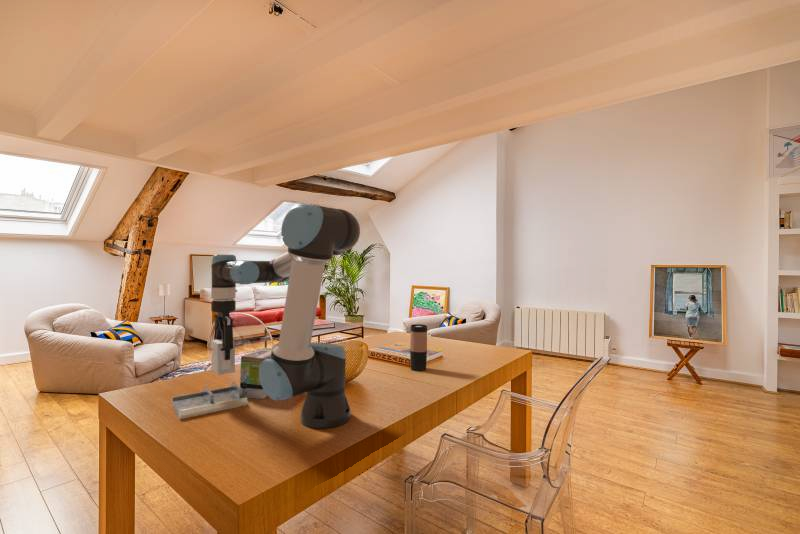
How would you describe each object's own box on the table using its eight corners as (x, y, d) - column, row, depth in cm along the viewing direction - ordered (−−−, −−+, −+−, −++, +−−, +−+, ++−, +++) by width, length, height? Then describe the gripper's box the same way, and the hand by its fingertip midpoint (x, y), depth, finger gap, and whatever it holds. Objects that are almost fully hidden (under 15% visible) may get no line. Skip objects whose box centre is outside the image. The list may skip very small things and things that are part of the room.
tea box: (264, 399, 135) (265, 357, 135) (239, 397, 137) (239, 356, 137) (285, 386, 150) (286, 348, 150) (262, 384, 152) (262, 347, 152)
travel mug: (407, 367, 179) (408, 324, 179) (423, 366, 181) (423, 324, 181) (413, 372, 172) (413, 327, 171) (429, 370, 174) (429, 326, 174)
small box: (235, 372, 130) (235, 341, 130) (217, 375, 126) (217, 343, 126) (228, 367, 136) (228, 337, 136) (211, 370, 133) (211, 339, 132)
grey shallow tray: (247, 405, 130) (247, 390, 130) (179, 419, 117) (179, 403, 117) (235, 393, 141) (235, 380, 141) (172, 405, 128) (172, 390, 128)
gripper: (244, 302, 125) (243, 371, 125) (227, 296, 141) (226, 358, 142) (219, 303, 120) (218, 375, 121) (204, 297, 137) (204, 361, 137)
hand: (222, 366), depth 131 cm, fingers closed on small box, 8 cm apart
